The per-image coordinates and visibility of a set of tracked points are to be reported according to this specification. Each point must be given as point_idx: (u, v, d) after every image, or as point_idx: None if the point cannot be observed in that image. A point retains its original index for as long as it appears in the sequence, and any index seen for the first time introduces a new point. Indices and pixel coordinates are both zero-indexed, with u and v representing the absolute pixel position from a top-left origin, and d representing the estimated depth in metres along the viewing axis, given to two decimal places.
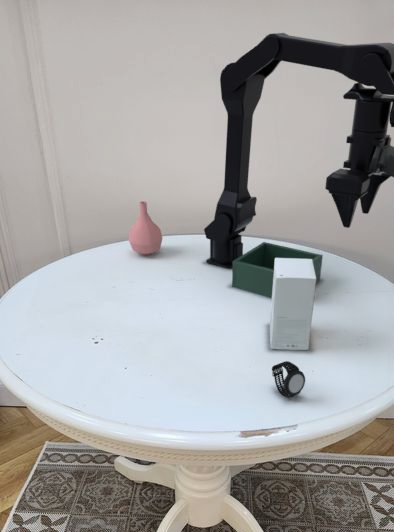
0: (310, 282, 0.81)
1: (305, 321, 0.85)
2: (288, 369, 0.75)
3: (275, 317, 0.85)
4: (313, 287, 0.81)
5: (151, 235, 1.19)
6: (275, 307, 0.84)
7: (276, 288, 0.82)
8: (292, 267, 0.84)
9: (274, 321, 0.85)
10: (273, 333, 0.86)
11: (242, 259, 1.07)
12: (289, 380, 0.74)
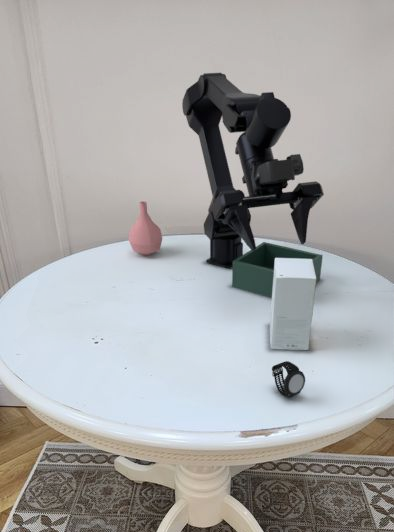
0: (310, 282, 0.81)
1: (305, 321, 0.85)
2: (288, 369, 0.75)
3: (275, 317, 0.85)
4: (313, 287, 0.81)
5: (151, 235, 1.19)
6: (275, 307, 0.84)
7: (276, 288, 0.82)
8: (292, 267, 0.84)
9: (274, 321, 0.85)
10: (273, 333, 0.86)
11: (242, 259, 1.07)
12: (289, 380, 0.74)
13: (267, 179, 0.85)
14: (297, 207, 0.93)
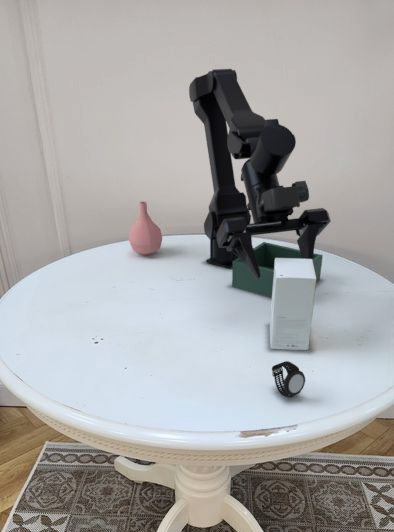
0: (310, 282, 0.81)
1: (305, 321, 0.85)
2: (288, 369, 0.75)
3: (275, 317, 0.85)
4: (313, 287, 0.81)
5: (151, 235, 1.19)
6: (275, 307, 0.84)
7: (276, 288, 0.82)
8: (292, 267, 0.84)
9: (274, 321, 0.85)
10: (273, 333, 0.86)
11: None
12: (289, 380, 0.74)
13: (271, 206, 0.83)
14: (303, 234, 0.91)
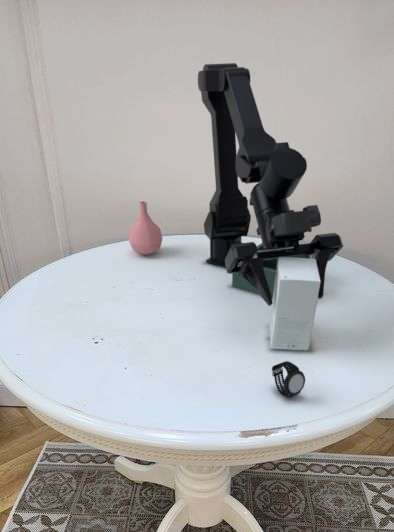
0: (314, 285, 0.80)
1: (307, 322, 0.84)
2: (288, 369, 0.75)
3: (277, 318, 0.84)
4: (317, 290, 0.81)
5: (151, 235, 1.19)
6: (278, 308, 0.83)
7: (280, 290, 0.81)
8: (296, 268, 0.83)
9: (276, 322, 0.85)
10: (274, 333, 0.86)
11: None
12: (289, 380, 0.74)
13: (282, 231, 0.80)
14: None
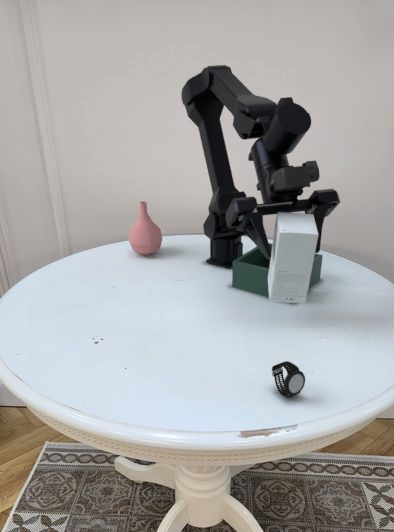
0: (312, 238, 0.83)
1: (304, 275, 0.87)
2: (288, 369, 0.75)
3: (276, 271, 0.87)
4: (315, 243, 0.84)
5: (151, 235, 1.19)
6: (277, 261, 0.86)
7: (279, 242, 0.84)
8: (294, 222, 0.86)
9: (275, 275, 0.88)
10: (273, 286, 0.89)
11: (242, 259, 1.07)
12: (289, 380, 0.74)
13: (282, 186, 0.83)
14: None
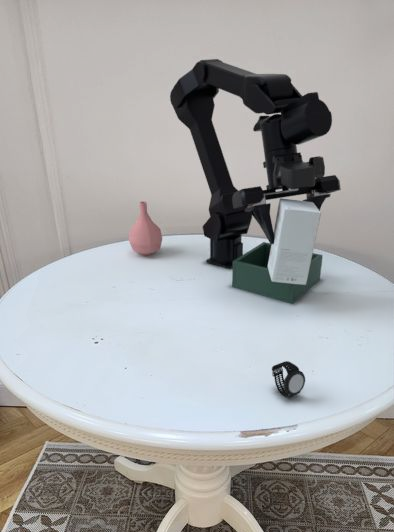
0: (315, 216, 0.88)
1: (306, 254, 0.92)
2: (288, 369, 0.75)
3: (279, 249, 0.91)
4: (317, 221, 0.89)
5: (151, 235, 1.19)
6: (280, 239, 0.90)
7: (284, 219, 0.89)
8: (297, 204, 0.91)
9: (278, 253, 0.92)
10: (275, 265, 0.93)
11: (242, 259, 1.07)
12: (289, 380, 0.74)
13: (288, 186, 0.88)
14: (310, 200, 0.96)
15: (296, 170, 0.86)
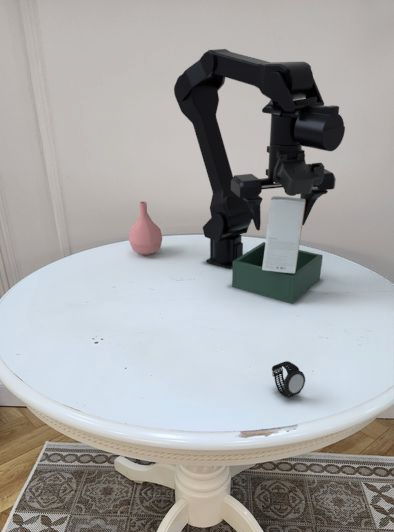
0: (300, 206, 0.95)
1: (293, 243, 0.97)
2: (288, 369, 0.75)
3: (268, 238, 0.98)
4: (302, 211, 0.95)
5: (151, 235, 1.19)
6: (268, 228, 0.97)
7: (270, 209, 0.96)
8: (286, 198, 0.98)
9: (267, 242, 0.98)
10: (265, 254, 0.99)
11: (242, 259, 1.07)
12: (289, 380, 0.74)
13: (286, 191, 0.92)
14: None
15: (296, 180, 0.90)
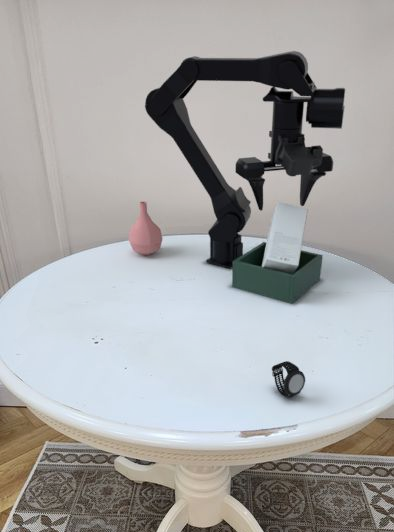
0: (303, 210, 1.04)
1: (297, 239, 1.01)
2: (288, 369, 0.75)
3: (273, 232, 1.02)
4: (305, 214, 1.03)
5: (151, 235, 1.19)
6: (274, 224, 1.02)
7: (277, 209, 1.03)
8: None
9: (272, 235, 1.01)
10: (270, 245, 1.01)
11: (242, 259, 1.07)
12: (289, 380, 0.74)
13: (287, 172, 0.99)
14: None
15: (296, 162, 0.97)
